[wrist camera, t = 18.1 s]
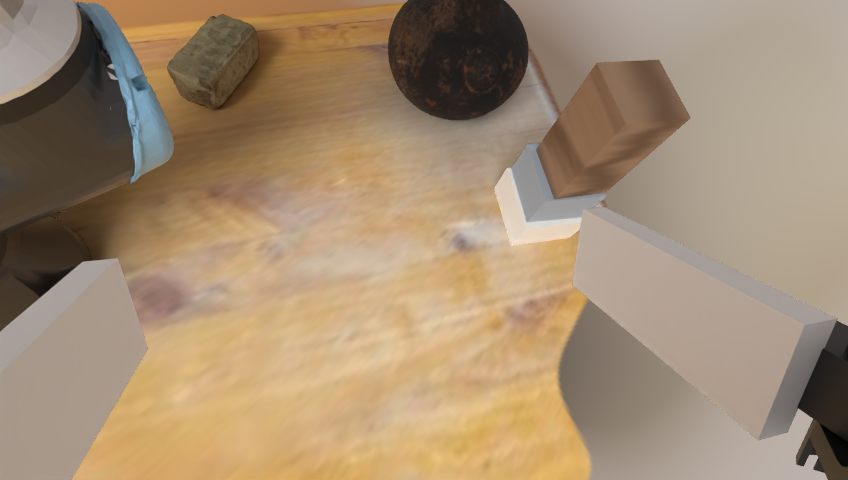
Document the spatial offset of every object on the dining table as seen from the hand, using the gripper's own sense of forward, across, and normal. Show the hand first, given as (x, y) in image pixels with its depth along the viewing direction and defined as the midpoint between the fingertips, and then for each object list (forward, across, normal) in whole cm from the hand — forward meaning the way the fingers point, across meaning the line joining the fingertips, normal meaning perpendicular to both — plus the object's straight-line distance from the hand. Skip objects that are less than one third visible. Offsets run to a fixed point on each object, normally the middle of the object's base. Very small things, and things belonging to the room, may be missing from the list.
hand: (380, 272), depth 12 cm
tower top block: (+31, +24, -8) cm, 40 cm away
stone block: (+51, -13, +5) cm, 53 cm away
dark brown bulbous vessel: (+49, +17, +2) cm, 52 cm away
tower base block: (+34, +24, -12) cm, 43 cm away
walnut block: (+27, +24, -5) cm, 37 cm away
